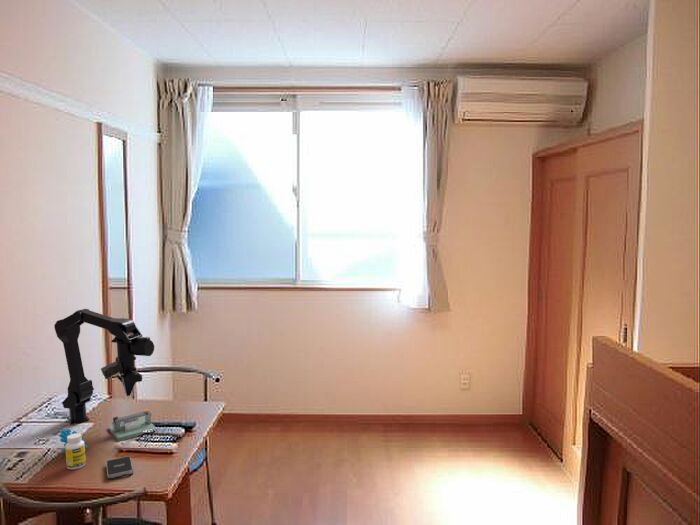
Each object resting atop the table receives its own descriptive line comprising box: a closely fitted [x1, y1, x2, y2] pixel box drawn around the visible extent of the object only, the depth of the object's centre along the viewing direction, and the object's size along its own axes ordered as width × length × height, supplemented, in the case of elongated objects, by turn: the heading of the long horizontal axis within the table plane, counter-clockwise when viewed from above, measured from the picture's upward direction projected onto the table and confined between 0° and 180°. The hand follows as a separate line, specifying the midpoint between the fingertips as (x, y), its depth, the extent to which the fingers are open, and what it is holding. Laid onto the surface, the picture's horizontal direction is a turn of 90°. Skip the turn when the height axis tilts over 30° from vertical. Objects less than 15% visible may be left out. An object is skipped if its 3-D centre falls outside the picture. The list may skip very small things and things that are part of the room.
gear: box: [58, 428, 88, 454], centre depth 182 cm, size 11×6×10 cm
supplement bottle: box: [64, 432, 87, 470], centre depth 171 cm, size 5×5×10 cm
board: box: [108, 416, 157, 442], centre depth 198 cm, size 14×13×1 cm
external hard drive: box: [105, 455, 134, 481], centre depth 167 cm, size 7×11×2 cm, turn 25°
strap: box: [116, 408, 150, 422], centre depth 198 cm, size 11×2×2 cm, turn 126°
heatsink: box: [121, 417, 140, 431], centre depth 198 cm, size 6×5×3 cm
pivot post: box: [111, 416, 121, 432], centre depth 195 cm, size 4×2×6 cm, turn 36°
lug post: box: [144, 411, 152, 424], centre depth 201 cm, size 4×1×6 cm, turn 36°
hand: (128, 395), depth 202 cm, fingers closed
